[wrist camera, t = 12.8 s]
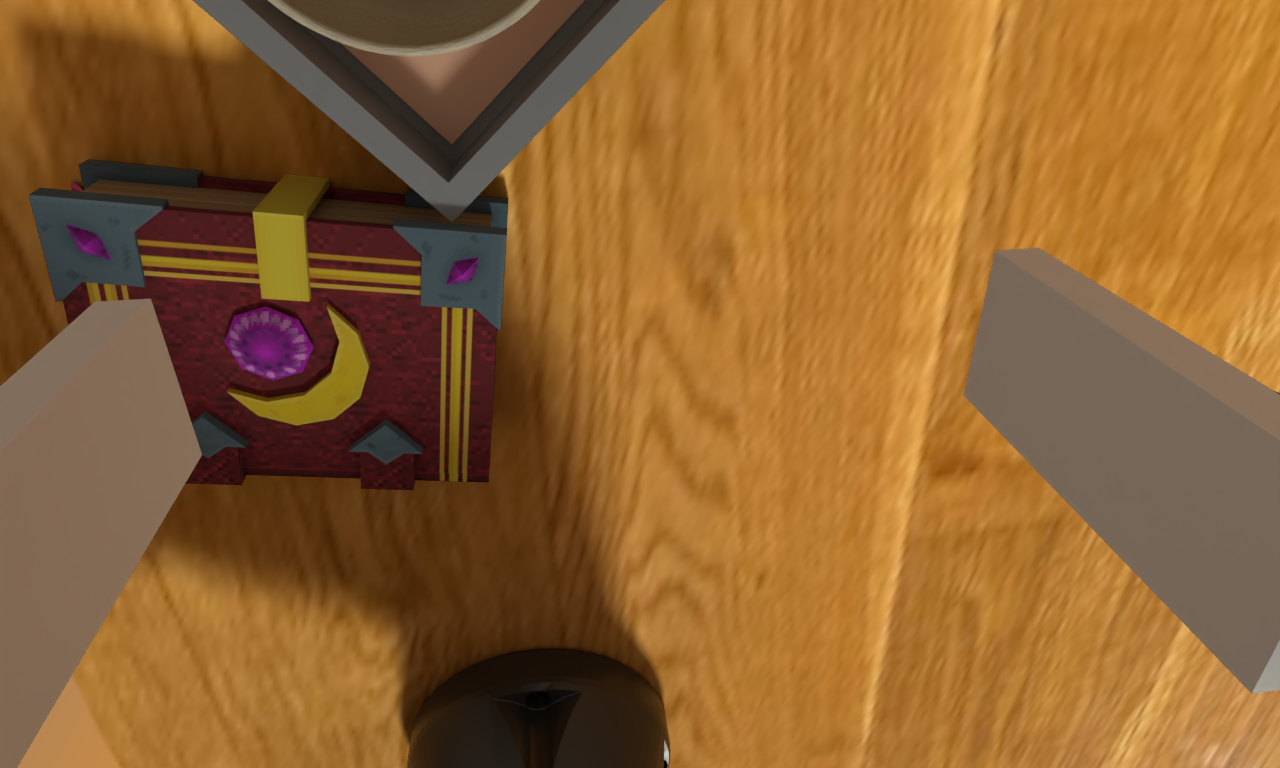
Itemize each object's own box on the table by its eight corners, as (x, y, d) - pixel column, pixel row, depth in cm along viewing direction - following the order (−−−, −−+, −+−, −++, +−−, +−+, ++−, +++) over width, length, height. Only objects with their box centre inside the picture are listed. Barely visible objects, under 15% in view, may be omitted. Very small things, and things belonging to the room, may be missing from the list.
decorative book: (495, 430, 38) (491, 498, 33) (114, 414, 35) (58, 486, 31) (508, 192, 32) (506, 237, 28) (56, 150, 29) (-23, 192, 25)
